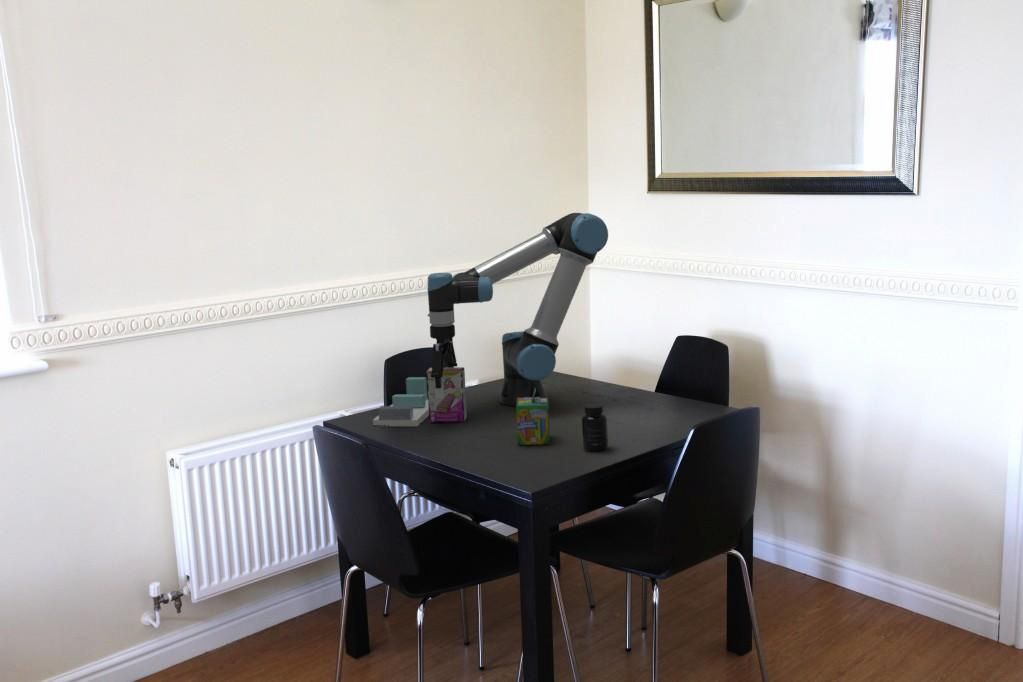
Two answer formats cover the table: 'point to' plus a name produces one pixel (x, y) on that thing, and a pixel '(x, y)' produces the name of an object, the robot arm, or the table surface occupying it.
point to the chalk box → (533, 420)
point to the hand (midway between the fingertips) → (445, 393)
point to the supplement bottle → (594, 429)
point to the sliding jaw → (412, 393)
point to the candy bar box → (448, 396)
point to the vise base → (413, 422)
